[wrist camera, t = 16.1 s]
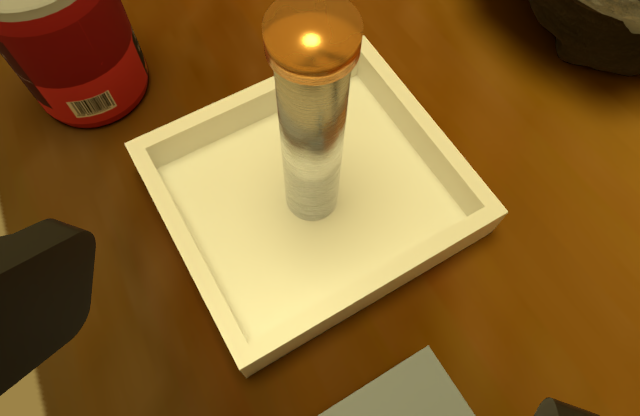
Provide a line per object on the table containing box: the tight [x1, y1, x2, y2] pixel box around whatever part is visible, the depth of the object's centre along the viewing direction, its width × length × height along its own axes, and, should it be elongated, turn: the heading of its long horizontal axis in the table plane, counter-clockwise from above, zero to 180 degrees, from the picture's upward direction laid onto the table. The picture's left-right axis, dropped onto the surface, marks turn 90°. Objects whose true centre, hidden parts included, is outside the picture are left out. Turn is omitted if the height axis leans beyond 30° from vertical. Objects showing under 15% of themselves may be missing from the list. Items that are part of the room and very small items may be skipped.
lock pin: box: [262, 0, 363, 221], centre depth 27 cm, size 4×4×15 cm
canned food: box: [0, 0, 148, 128], centre depth 34 cm, size 8×8×11 cm
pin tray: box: [124, 36, 508, 378], centre depth 33 cm, size 18×16×3 cm
